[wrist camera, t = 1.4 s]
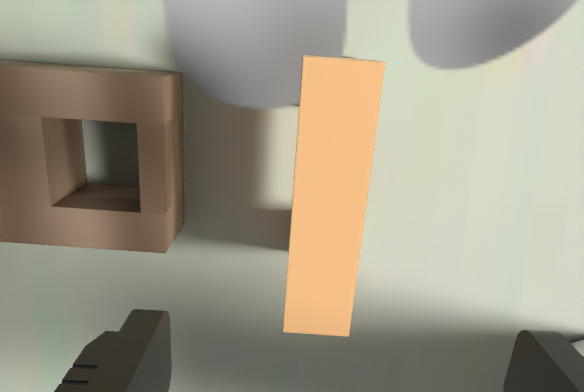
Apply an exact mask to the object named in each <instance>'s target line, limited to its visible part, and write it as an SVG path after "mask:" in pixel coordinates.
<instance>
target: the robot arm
mask: <svg viewBox="0 0 584 392" xmlns="http://www.w3.org/2000/svg"><path fill="white" fill-rule="evenodd" d="M170 379H171V341H170V317H169V313H168V311H158V310H139V309H134V310H132V312H131V313H130V315H129V316H128V318H127V319H126V321H125V323H124V324H123V326H122V328H121V329H120V331H119V332H113V331H105V332H104V333H103V334H101V335H100V336H99V337H97V338H96V339H95V340H93V341H92V342H90V343H89V344H88V345H86V346H85V348H84V349H83V351H82V352H81V354H80V355H79V356H78V358H77V359H76V361H75V362H74V364H73V367H72V368H70V369H69V371H68V372H67V374H66V375H65V377H64V378H63V380H62V384H59V385H58V387H57V388H56V390H55V391H54V392H168V390H169V386H170ZM504 392H584V340H580V341H576V342H572V343H570V342H569V341H568V340H567V339H566V338H565V337H564V336H563V335H562V334H560V333H559V332H549V331H530V330H523V331H521V332H520V333H519V334H518V336H517V338H516V341H515V345H514V349H513V352H512V356H511V360H510V364H509V367H508V371H507V375H506V379H505V382H504Z"/></svg>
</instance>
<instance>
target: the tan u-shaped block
mask: <svg viewBox="0 0 584 392" xmlns="http://www.w3.org/2000/svg"><path fill="white" fill-rule="evenodd" d="M384 68H385V62H381V61H376V60H368V59H355V58H341V57H327V56H314V55H303V64H302V77H301V91H300V104H299V117H298V131H297V144H296V158H295V172H294V185H293V199H292V212H291V226H290V239H289V253H288V267H287V280H286V294H285V310H284V327H283V332H289V333H304V334H318V335H333V336H347V337H349V332H350V324H351V317H352V309H353V302H354V294H355V286H356V279H357V271H358V264H359V256H360V249H361V241H362V234H363V226H364V219H365V211H366V204H367V196H368V189H369V181H370V174H371V166H372V159H373V151H374V143H375V136H376V128H377V121H378V113H379V106H380V98H381V91H382V83H383V76H384Z"/></svg>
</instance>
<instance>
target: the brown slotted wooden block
mask: <svg viewBox="0 0 584 392" xmlns="http://www.w3.org/2000/svg"><path fill="white" fill-rule="evenodd" d="M81 120H94V121H108V122H122V123H136V124H137V142H138V164H139V185H140V187H132V186H118V185H104V184H90V183H87V178H86V166H85V155H84V144H83V132H82V121H81ZM183 225H184V170H183V90H182V73H177V72H164V71H150V70H136V69H122V68H109V67H95V66H81V65H67V64H53V63H40V62H26V61H12V60H0V242H13V243H27V244H42V245H56V246H70V247H84V248H99V249H113V250H127V251H142V252H156V253H166V251H167V250H168V248H169V247H170V245H171V244H172V242H173V240H174V239H175V237H176V236H177V234H178V233H179V231H180V230H181V228H182V227H183Z"/></svg>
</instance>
